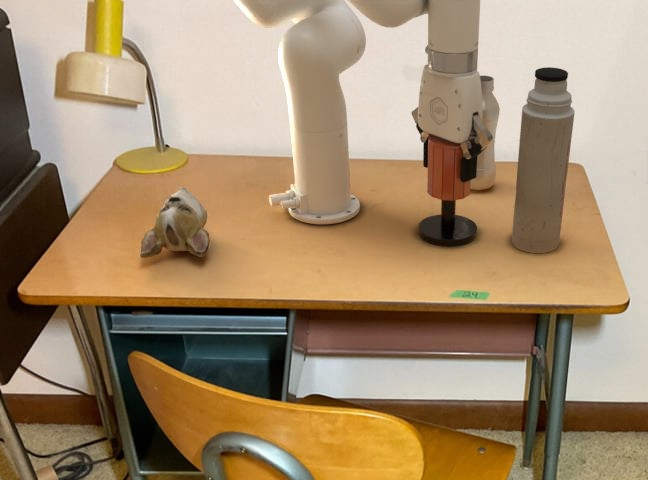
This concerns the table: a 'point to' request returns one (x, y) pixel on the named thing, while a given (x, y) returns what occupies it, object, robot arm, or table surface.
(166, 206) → the ceramic sculpture
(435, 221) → the bowl
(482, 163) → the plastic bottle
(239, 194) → the table surface
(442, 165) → the cup
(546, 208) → the thermos bottle
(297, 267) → the table surface
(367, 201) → the table surface
